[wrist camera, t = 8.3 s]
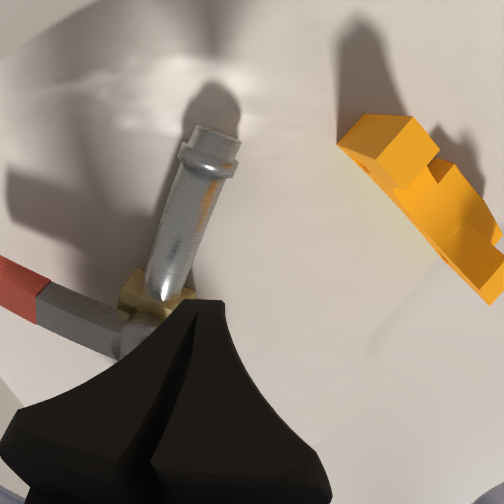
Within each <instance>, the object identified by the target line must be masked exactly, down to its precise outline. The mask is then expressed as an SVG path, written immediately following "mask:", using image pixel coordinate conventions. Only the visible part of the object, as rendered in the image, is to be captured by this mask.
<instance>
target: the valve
mask: <svg viewBox="0 0 504 504" xmlns="http://www.w3.org/2000/svg"><path fill="white" fill-rule="evenodd" d="M241 143H242V142H241V141H240V140H238V139H236V138H234V137H232V136H230V135H227V134H225V133H223V132H220V131H217V130H215V129H212V128H209V127H206V126H202V125H198V124H196V125H195V127H194V130H193V132H192V135H191V137H190V140H189V141H183V142H182V145H181V147H180V150H179V153H178V155H177V157H178V159H179V160H181V163H180V166H179V168H178V171H177V174H176V177H175V179H174V182H173V185H172V188H171V191H170V194H169V196H168V199H167V202H166V205H165V208H164V211H163V214H162V217H161V220H160V223H159V226H158V229H157V233H156V236H155V239H154V242H153V245H152V249H151V252H150V255H149V259H148V262H147V266H146V269H145V271H144V270H141V269H139V268H136V269H135V270H134V272H133V273H132V275H131V276H130V277H129V279H128V280H127V282H126V283H125V285H124V286H123V288H122V290H121V293H120V297H119V302H118V307H117V309H118V310H121V311H124V312H126V313H129V314H132V313H146V314H150V315H152V316H154V317H156V318H157V319H159V320H160V321H161V322H163V321H164V320H165V319H166V318H167V317H168V316H169V315H170V313H171V312H172V311H173V310H174V309H175V308H176V307H177V306H178V305H179V304H180V302H181V301H183V300H184V299H194V296H195V293H196V291H195V290H192V289H189V288H187V287H184V284H185V281H186V279H187V276H188V273H189V271H190V268H191V265H192V263H193V260H194V257H195V255H196V252H197V250H198V247H199V244H200V242H201V239H202V237H203V234H204V232H205V229H206V227H207V224H208V222H209V219H210V217H211V214H212V212H213V209H214V207H215V204H216V202H217V199H218V197H219V195H220V192H221V190H222V187H223V185H224V183H225V180H226V178H232V177H233V176H234V173H235V171H236V169H237V166H238V164H239V162H238V161H237V160H236V159H235V157H236V154H237V152H238V150H239V147H240V145H241Z"/></svg>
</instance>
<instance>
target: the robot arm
mask: <svg viewBox="0 0 504 504" xmlns="http://www.w3.org/2000/svg"><path fill="white" fill-rule="evenodd" d="M0 456H1V458H2V460H3V461H4V462H5V463H6V464H7V465H8V466H9V467H10V468H11V469H12V470H13V471H14V472H15V473H16V474H17V475H18V476H19V477H20V478H21V479H22V480H23V481H24V482H25V483H26V484H27V485H29V486H30V489H29V492H28V495H27V497H26V499H25V498H23V497H21V496H19V495H17V494H15V493H13V492H12V491H10V490H8V489H6V488H4V487H2V486H1V485H0V504H329V503H330V502H331V499H332V497H333V496H332V490H331V486H330V483H329V480H328V477H327V474H326V472H325V470H324V467H323V465H322V463H321V461H320V459H319V457H318V455H317V453H316V451H314V450H313V449H312V448H311V447H310V446H309V445H308V444H307V443H305V442H304V441H303V440H302V439H301V438H300V437H299V436H298V435H297V434H296V433H295V432H294V431H293V430H292V429H291V428H290V427H289V426H288V425H287V424H286V423H285V422H284V421H283V420H282V419H281V418H280V417H279V415H278V414H277V413H276V412H275V411H274V409H273V408H272V407H271V406H270V404H269V403H268V402H267V401H266V399H265V398H264V397H263V395H262V394H261V393H260V391H259V390H258V388H257V387H256V385H255V384H254V382H253V381H252V379H251V377H250V376H249V374H248V372H247V371H246V369H245V367H244V365H243V363H242V361H241V359H240V357H239V355H238V353H237V351H236V348H235V346H234V343H233V341H232V338H231V335H230V332H229V329H228V326H227V322H226V318H225V303H224V302H223V301H222V300H201V299H184V300H183V301H181V302H180V304H179V305H178V306H177V307H176V308H175V309H174V310H173V311H172V312H171V313H170V315H169V316H168V317H167V318H166V319H165V320H164V321H163V322H162V323H161V324H160V325H159V326H158V327H157V328H156V329H155V330H154V331H153V332H152V333H151V334H150V335H149V336H148V337H147V338H146V339H145V340H143V341H142V342H141V343H140V344H139V345H138V346H137V347H136V348H135V349H133V350H132V351H131V352H130V353H129V354H127V355H126V356H125V357H124V358H122V359H121V360H120V361H118V362H117V363H115V364H114V365H113V366H111V367H110V368H108V369H107V370H105V371H103V372H102V373H100V374H98V375H97V376H95V377H93V378H92V379H90V380H88V381H87V382H85V383H83V384H81V385H79V386H77V387H75V388H73V389H71V390H69V391H67V392H65V393H62V394H60V395H58V396H56V397H53V398H51V399H48V400H45V401H43V402H40V403H37V404H34V405H31V406H28V407H25V408H22V409H18V410H17V412H16V414H15V415H14V417H13V419H12V420H11V422H10V424H9V426H8V428H7V429H6V431H5V434H4V435H3V437H2V439H1V441H0ZM472 504H504V482H503V483H501V484H499V485H497V486H495V487H494V488H492V489H490V490H489V491H487V492H486V493H484V494H483V495H481V496H480V497H479V498H478V499H477V500H476V501H474V503H472Z"/></svg>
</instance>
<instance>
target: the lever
mask: <svg viewBox="0 0 504 504" xmlns="http://www.w3.org/2000/svg"><path fill="white" fill-rule="evenodd" d="M0 305H1V306H3V307H4V308H6V309H8V310H10V311H11V312H13V313H15V314H17V315H19V316H21V317H22V318H24V319H26V320H28V321H30V322H32V323H34V324H36V325H37V324H38V325H40V326H42V327H44V328H46V329H48V330H50V331H52V332H54V333H56V334H58V335H60V336H63V337H65V338H67V339H69V340H71V341H74V342H76V343H78V344H80V345H83V346H85V347H87V348H89V349H92V350H94V351H97V352H99V353H101V354H104V355H106V356H109V357H111V358H114V359H116V360H117V361H120V360H121V359H122V358H124V357H125V356H126V355H127V354H129V353H130V352H131V351H132V350H133V349H135V348H136V347H137V346H138V345H139V344H140V343H141V342H142V341H143V340H145V339H146V338H147V337H148V336H149V335H150V334H151V333H152V332H153V331H154V330H155V329H156V328H157V327H158V326H159V325H160V324H161V323H162V322H161V321H160V320H159V319H157V318H156V317H154V316H152V315H150V314H146V313H132V314H129V313H126V312H124V311H121V310H118V309H116V308H113V307H111V306H108V305H106V304H103V303H101V302H98V301H96V300H93V299H91V298H89V297H86V296H84V295H81V294H79V293H77V292H74V291H72V290H70V289H68V288H65V287H63V286H61V285H59V284H56V283H54V282H52V281H51V280H50V279H48V278H46V277H44V276H42V275H40V274H37V273H35V272H33V271H31V270H29V269H27V268H25V267H23V266H21V265H19V264H17V263H15V262H13V261H11V260H9V259H7V258H5V257H3V256H1V255H0Z"/></svg>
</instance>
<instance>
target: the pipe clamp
mask: <svg viewBox="0 0 504 504" xmlns="http://www.w3.org/2000/svg"><path fill="white" fill-rule="evenodd" d="M336 145H338V146H339V147H340V148H341V149H342V150H343V151H344V152H345V153H346V154H347V155H348V156H349V157H350V158H351V159H352V160H353V161H354V162H355V163H356V164H357V165H358V166H359V167H360V168H361V169H362V170H363V171H364V172H365V173H366V174H367V175H368V176H369V177H370V178H371V179H372V180H373V181H374V182H375V183H376V184H377V185H378V186H379V187H380V188H381V189H382V190H383V191H384V192H385V193H386V194H387V195H388V196H389V197H390V199H391V200H392V201H393V202H394V203H395V204H396V205H397V206H398V207H399V208H400V209H401V211H402V212H403V213H404V214H405V215H406V216H407V217H408V218H409V220H410V221H411V222H412V223H413V224H414V225H415V227H416V228H417V229H418V230H419V231H420V232H421V234H422V235H423V236H424V237H425V238H426V240H427V241H428V242H429V243H430V244H431V246H432V247H433V248H434V249H435V251H436V252H437V253H438V254H439V256H440V257H441V258H442V260H443V261H444V262H445V263H447V264H448V265H449V266H450V267H451V268H452V269H453V270H454V271H455V272H456V273H457V274H458V275H459V276H460V277H461V278H462V279H463V280H464V281H465V282H466V283H467V284H469V286H470V287H471V288H472V289H473V290H474V291H475V292H476V293H477V294H478V295H479V296H480V297H481V298H482V299H483V300H484V301H485V302H486V303H487V304H488V305H489V306H490V305H491V304H492V303H493V302H494V301H495V300H496V298H497V297H498V296H499V295H500V294H501V293H502V292H503V291H504V255H503V254H502V253H501V252H500V251H499V250H497V249H496V248H495V247H494V246H495V244H496V243H497V242H498V241H499V239H500V238H501V237H502V236H503V234H502V232H501V230H500V228H499V227H498V225H497V223H496V221H495V219H494V217H493V216H492V214H491V212H490V210H489V209H488V207H487V205H486V203H485V202H484V200H483V199H482V198H481V197H480V196H479V195H478V193H477V192H476V191H475V190H474V189H473V188H472V186H471V185H470V184H469V183H468V182H467V180H466V179H465V178H464V176H463V175H462V174H461V172H460V171H459V170H458V168H457V167H456V165H455V164H454V163H451V162H448V161H445V160H442V159H439V158H435V159H434V160H433V161H432V163H431V164H430V165H429V166H428V167H427V165H428V164H429V162H430V161H431V160H432V159H433V158H434V156H435V155H436V154H437V153H438V152H439V150H440V149H439V148H438V146H437V145H436V144H435V143H434V141H433V140H432V139H431V138H430V136H429V135H428V134H427V133H426V131H425V130H424V129H423V128H422V126H421V125H420V124H419V123H418V122H417V121H416V119H415V118H414V117H411V116H397V115H378V114H363V115H362V116H361V118H360V119H359V120H358V121H357V122H356V123H355V124H354V125H353V127H352V128H351V129H350V130H349V131H348V132H347V133H346V134H345V135H344V137H343V138H342V139H341V140H340V141H339V142H338V143H337V144H336Z"/></svg>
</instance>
